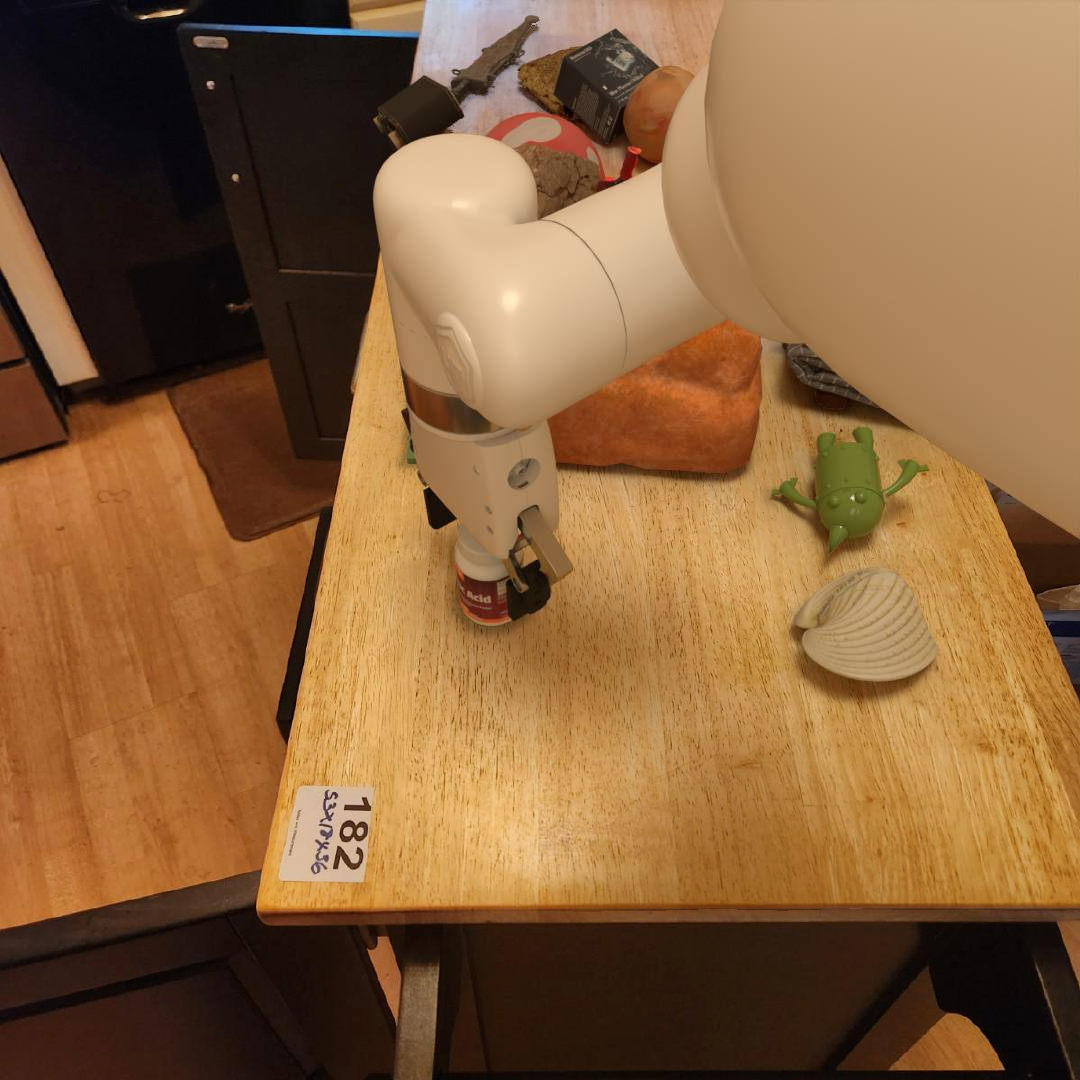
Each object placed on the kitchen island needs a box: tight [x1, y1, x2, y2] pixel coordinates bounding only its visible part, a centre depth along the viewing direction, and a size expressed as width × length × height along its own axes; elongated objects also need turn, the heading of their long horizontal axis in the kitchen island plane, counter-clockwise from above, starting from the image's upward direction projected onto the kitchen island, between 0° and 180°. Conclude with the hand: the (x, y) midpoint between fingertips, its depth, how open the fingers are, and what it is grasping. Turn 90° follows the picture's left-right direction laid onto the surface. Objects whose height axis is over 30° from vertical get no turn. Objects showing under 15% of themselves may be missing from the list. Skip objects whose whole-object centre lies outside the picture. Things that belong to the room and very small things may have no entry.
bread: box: [547, 320, 764, 474], centre depth 72 cm, size 14×26×16 cm, turn 83°
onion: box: [623, 65, 696, 165], centre depth 100 cm, size 10×10×10 cm
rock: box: [512, 143, 600, 220], centre depth 76 cm, size 13×11×5 cm
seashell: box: [793, 566, 941, 682], centre depth 62 cm, size 8×8×8 cm
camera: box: [372, 74, 465, 151], centre depth 101 cm, size 16×7×8 cm
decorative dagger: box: [450, 14, 540, 106], centre depth 117 cm, size 7×2×30 cm
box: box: [554, 28, 661, 145], centre depth 106 cm, size 9×6×10 cm
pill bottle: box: [453, 521, 525, 627], centre depth 63 cm, size 5×5×8 cm
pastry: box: [516, 45, 584, 121], centre depth 114 cm, size 17×17×3 cm
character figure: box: [770, 426, 930, 557], centre depth 69 cm, size 12×5×12 cm
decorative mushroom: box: [483, 111, 606, 180], centre depth 86 cm, size 13×13×15 cm
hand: (488, 561), depth 63 cm, fingers open, 9 cm apart
